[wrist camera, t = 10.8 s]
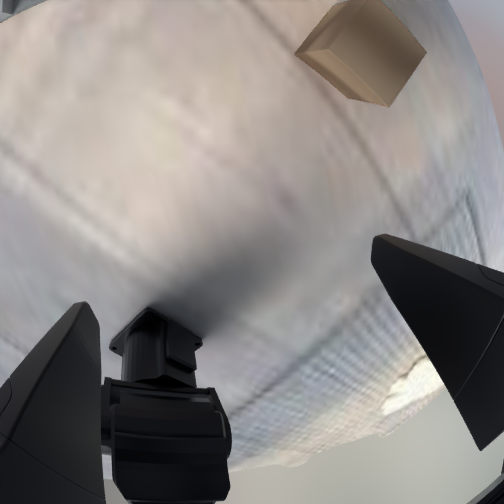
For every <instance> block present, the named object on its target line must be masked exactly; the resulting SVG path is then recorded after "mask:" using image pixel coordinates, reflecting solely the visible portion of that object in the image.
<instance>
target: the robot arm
mask: <svg viewBox="0 0 504 504" xmlns="http://www.w3.org/2000/svg"><path fill="white" fill-rule="evenodd" d="M371 263H372V265H373V267H374V269H375V271H376V273H377V274H378V276H379V278H380V280H381V282H382V283H383V285H384V287H385V289H386V291H387V293H388V295H389V296H390V298H391V300H392V301H393V303H394V304H395V306H396V308H397V309H398V311H399V312H400V314H401V315H402V317H403V318H404V320H405V321H406V323H407V324H408V326H409V327H410V329H411V330H412V332H413V333H414V335H415V337H416V338H417V340H418V341H419V343H420V345H421V346H422V348H423V349H424V351H425V353H426V354H427V356H428V357H429V359H430V361H431V362H432V364H433V366H434V367H435V369H436V371H437V372H438V374H439V376H440V378H441V379H442V381H443V383H444V385H445V386H446V388H447V390H448V392H449V393H450V395H451V397H452V399H453V400H454V403H455V404H456V406H457V408H458V410H459V412H460V414H461V416H462V417H463V419H464V421H465V423H466V425H467V427H468V429H469V431H470V433H471V435H472V437H473V439H474V441H475V443H476V445H477V447H478V449H479V450H480V451H482V450H483V449H484V448H485V447H486V446H487V445H489V444H490V443H491V442H492V441H494V440H495V439H496V438H497V437H498V436H499V435H500V434H501V433H503V432H504V273H503V272H500V271H497V270H494V269H491V268H488V267H486V266H483V265H480V264H476V263H474V262H471V261H468V260H466V259H463V258H460V257H457V256H454V255H451V254H448V253H445V252H442V251H439V250H436V249H433V248H430V247H427V246H424V245H420V244H417V243H414V242H411V241H408V240H404V239H401V238H398V237H395V236H391V235H388V234H381V235H377V236H375V237H374V238H373V243H372V251H371ZM148 314H151V315H148ZM196 342H198V343H196ZM202 345H203V342H202V339H201V338H200V337H198V336H196V335H194V334H193V333H192V332H190V331H188V330H187V329H185V328H183V327H182V326H180V325H178V324H177V323H175V322H173V321H172V320H169V319H168V318H166V317H164V316H163V315H161V314H160V313H158V312H156V311H155V310H153V309H151V308H147V309H145V310H144V311H143V312H142V313H140V314H139V315H138V316H137V317H136V318H135V319H134V320H133V321H132V322H131V323H130V324H129V325H128V326H127V327H126V328H125V329H124V330H123V331H122V332H121V333H120V334H119V335H118V336H117V337H116V338H115V339H114V340H113V341H112V342H111V343H110V345H109V349H110V350H111V351H113V352H114V353H116V354H118V355H120V356H122V357H123V358H122V374H121V380H115V379H112V378H110V377H105V380H104V385H101V352H100V327H99V323H98V320H97V319H96V317H95V315H94V313H93V311H92V309H91V307H90V305H89V304H88V303H87V302H86V301H83V302H78V303H75V304H73V305H72V306H71V307H70V308H69V310H68V311H67V312H66V313H65V314H64V315H63V316H62V317H61V318H60V319H59V320H58V321H57V322H56V323H55V325H54V326H53V327H52V328H51V329H50V330H49V331H48V332H47V333H46V334H45V336H44V337H43V338H42V339H41V340H40V341H39V342H38V343H37V345H36V346H35V347H34V348H33V349H32V350H31V352H30V353H29V354H28V355H27V356H26V357H25V359H24V360H23V361H22V362H21V363H20V364H19V366H18V367H17V368H16V369H15V371H14V372H13V373H12V374H11V375H10V378H8V379H7V380H6V382H5V383H4V384H3V385H2V387H1V388H0V504H106V500H105V491H104V481H103V468H102V454H105V455H112V477H113V481H114V483H115V485H116V486H117V488H118V489H119V491H120V492H121V493H122V495H123V496H124V498H125V499H126V500H127V502H128V503H129V504H215V502H216V501H224V500H225V499H226V497H227V495H228V492H229V490H230V481H229V474H228V467H227V459H228V457H229V455H230V452H231V447H232V434H231V428H230V424H229V421H228V418H227V416H226V414H225V411H224V409H223V407H222V405H221V402H220V400H219V398H218V395H217V393H216V391H215V388H210V387H207V388H197V385H196V379H195V372H194V371H195V370H196V369H197V365H196V358H195V351H196V350H197V349H199V348H200V347H201V346H202ZM501 474H502V475H501V476H499V477H498V478H497V479H496V480H495V481H494V482H493V483H492V484H490V485H489V486H488V487H487V488H486V489H484V490H483V491H482V492H481V493H480V494H478V495H477V496H476V497H475V498H473V499H472V500H471V501H470V502H468V503H467V504H504V462H503V467H502V472H501Z"/></svg>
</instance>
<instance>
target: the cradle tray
mask: <svg viewBox="0 0 504 504" xmlns="http://www.w3.org/2000/svg"><path fill="white" fill-rule="evenodd" d="M44 1H46V0H0V23H1V22H3V21H5V20H7V19H8V18H10V17H12V16H14V15H16V14H18V13H20V12H22V11H24V10H26V9H28V8H30V7H33V6H35V5H37V4H39V3H41V2H44Z"/></svg>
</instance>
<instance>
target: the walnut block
mask: <svg viewBox="0 0 504 504" xmlns="http://www.w3.org/2000/svg"><path fill="white" fill-rule="evenodd" d="M426 53H427V52H426V51H425V49H424V48H423V47H422V46H421V44H420V43H419V42H418V41H417V40H416V38H415V37H414V36H413V35H412V34H411V32H410V31H409V30H408V29H407V28H406V27H405V26H404V24H403V23H402V22H401V21H400V20H399V19H398V18H397V17H396V16H395V15H394V13H393V12H392V11H391V10H390V9H389V8H388V7H387V6H386V5H385V4H384V3H383V2H382V1H381V0H350V1H346V2H343V3H340V4H337V5H335V6H333V7H332V8H331V9H330V10H329V12H328V13H327V14H326V15H325V16H324V17H323V19H322V20H321V21H320V22H319V24H318V25H317V26H316V27H315V28H314V30H313V31H312V32H311V33H310V35H309V36H308V37H307V38H306V40H305V41H304V42H303V43H302V45H301V46H300V47H299V48H298V50H297V51H296V52H295V55H296V56H297V57H299V58H300V59H301V60H302V61H304V62H305V63H306V64H308V65H309V66H310V67H311V68H313V69H314V70H315V71H316V72H318V73H319V74H320V75H321V76H323V77H324V78H325V79H326V80H327V81H329V82H330V83H331V84H332V85H333V86H334V87H336V88H337V89H338V90H339V91H340V92H341V93H342V94H344V95H345V96H346V97H347V98H349V99H355V100H360V101H364V102H369V103H373V104H378V105H382V106H386V107H390V105H391V104H392V103H393V101H394V100H395V98H396V97H397V95H398V94H399V92H400V91H401V90H402V88H403V87H404V85H405V84H406V82H407V81H408V79H409V78H410V76H411V75H412V74H413V72H414V71H415V69H416V68H417V66H418V65H419V63H420V62H421V60H422V59H423V57H424V56H425V54H426Z"/></svg>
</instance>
